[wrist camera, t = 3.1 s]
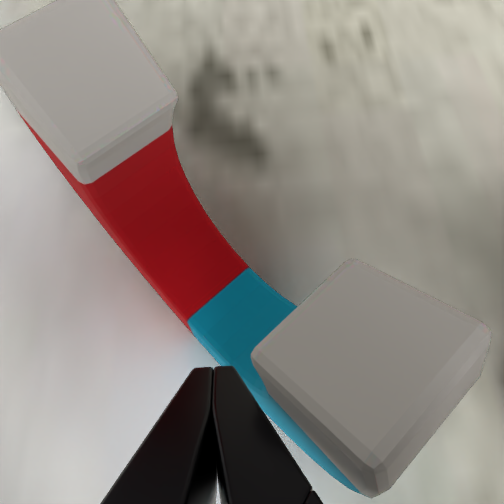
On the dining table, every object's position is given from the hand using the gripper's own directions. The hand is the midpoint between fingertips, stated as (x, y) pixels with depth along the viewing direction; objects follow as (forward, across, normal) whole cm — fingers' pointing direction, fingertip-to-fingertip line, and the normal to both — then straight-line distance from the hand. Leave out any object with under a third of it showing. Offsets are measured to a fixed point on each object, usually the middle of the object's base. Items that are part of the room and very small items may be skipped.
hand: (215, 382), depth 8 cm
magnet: (+7, 0, +3) cm, 8 cm away
